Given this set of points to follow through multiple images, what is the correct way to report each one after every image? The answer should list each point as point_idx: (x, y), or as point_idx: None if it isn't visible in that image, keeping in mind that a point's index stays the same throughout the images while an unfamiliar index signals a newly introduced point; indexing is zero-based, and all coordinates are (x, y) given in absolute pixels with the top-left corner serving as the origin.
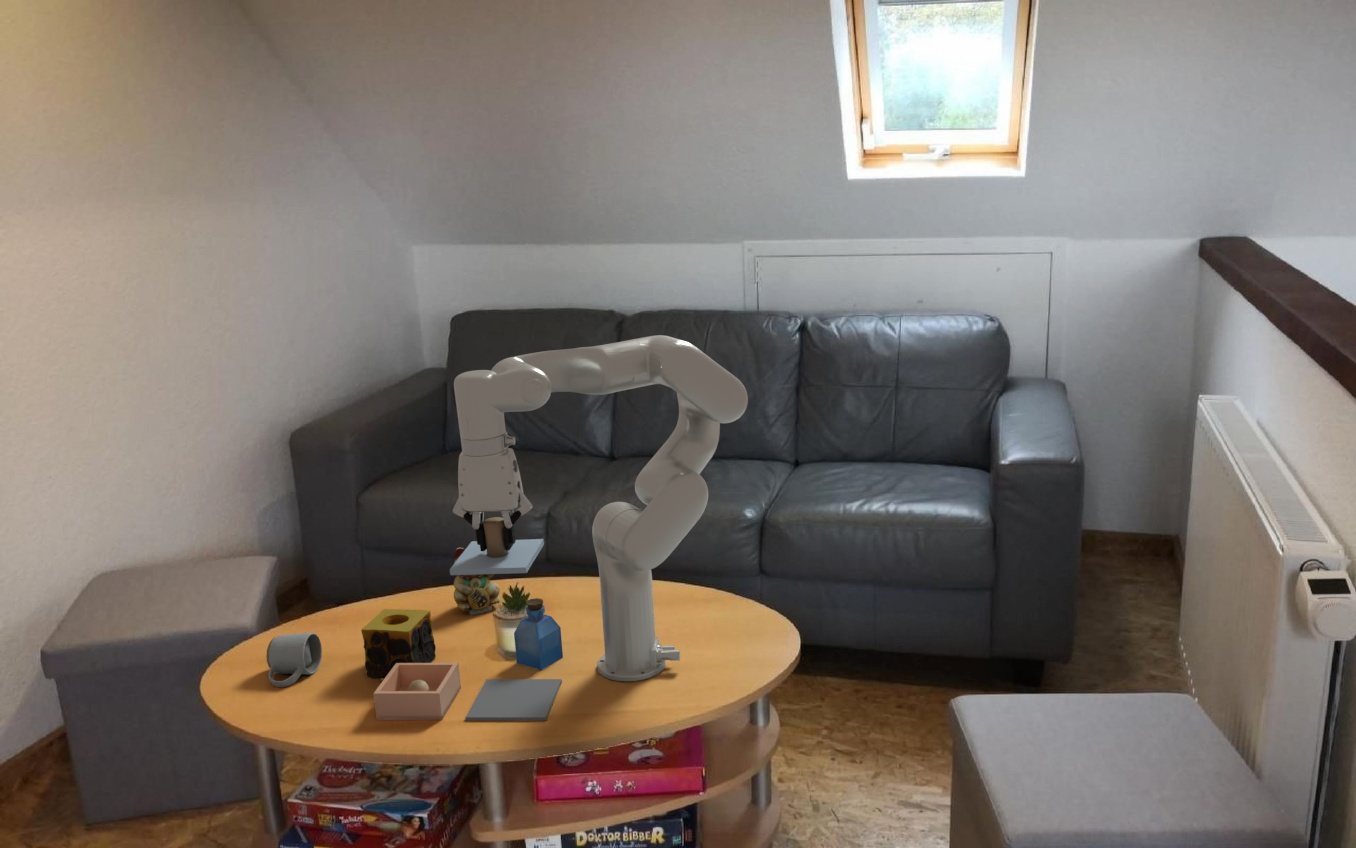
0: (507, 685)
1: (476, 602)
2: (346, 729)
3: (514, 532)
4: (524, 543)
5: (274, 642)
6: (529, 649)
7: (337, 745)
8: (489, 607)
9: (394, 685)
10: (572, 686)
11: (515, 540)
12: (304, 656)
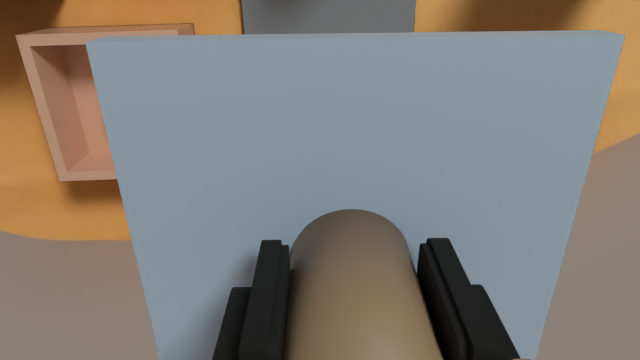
0: (299, 23)
1: None
2: (51, 190)
3: (500, 328)
4: (490, 114)
5: None
6: None
7: (71, 236)
8: None
9: (58, 82)
10: (440, 7)
11: (479, 285)
12: None
